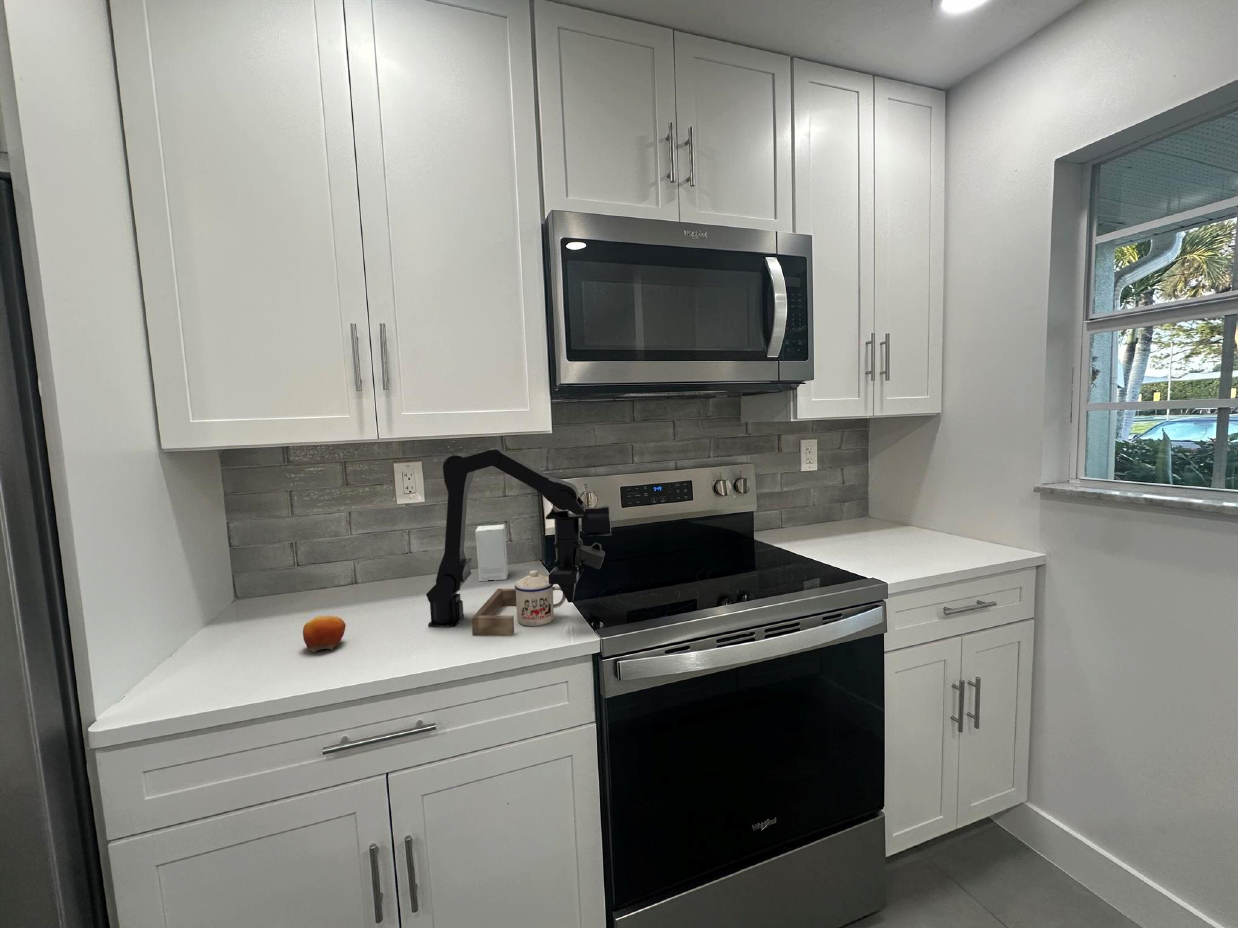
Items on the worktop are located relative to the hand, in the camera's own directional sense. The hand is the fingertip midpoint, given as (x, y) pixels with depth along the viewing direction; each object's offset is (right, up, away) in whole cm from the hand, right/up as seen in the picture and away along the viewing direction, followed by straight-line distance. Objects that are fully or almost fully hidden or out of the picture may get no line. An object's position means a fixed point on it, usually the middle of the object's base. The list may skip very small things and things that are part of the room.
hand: (570, 601), depth 128 cm
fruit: (-51, -7, -12) cm, 53 cm away
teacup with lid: (-7, -4, +1) cm, 8 cm away
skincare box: (-26, -2, +34) cm, 43 cm away
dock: (-16, -4, +2) cm, 16 cm away
